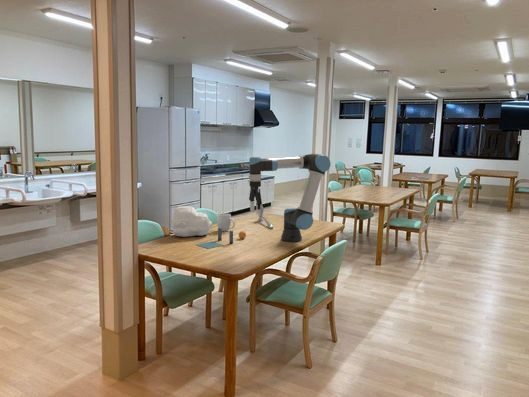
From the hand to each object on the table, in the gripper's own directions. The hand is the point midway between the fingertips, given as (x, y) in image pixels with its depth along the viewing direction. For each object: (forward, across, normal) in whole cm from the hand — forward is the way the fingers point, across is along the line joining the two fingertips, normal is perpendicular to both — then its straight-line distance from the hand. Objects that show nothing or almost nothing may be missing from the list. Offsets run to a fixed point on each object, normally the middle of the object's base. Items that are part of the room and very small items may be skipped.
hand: (255, 212), depth 291 cm
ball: (+22, -30, -1) cm, 37 cm away
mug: (+24, -59, -6) cm, 64 cm away
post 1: (+24, -28, -18) cm, 41 cm away
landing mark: (+24, -16, -28) cm, 40 cm away
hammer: (+26, -76, +33) cm, 86 cm away
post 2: (+24, -17, -12) cm, 32 cm away
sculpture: (+24, -51, -34) cm, 66 cm away
